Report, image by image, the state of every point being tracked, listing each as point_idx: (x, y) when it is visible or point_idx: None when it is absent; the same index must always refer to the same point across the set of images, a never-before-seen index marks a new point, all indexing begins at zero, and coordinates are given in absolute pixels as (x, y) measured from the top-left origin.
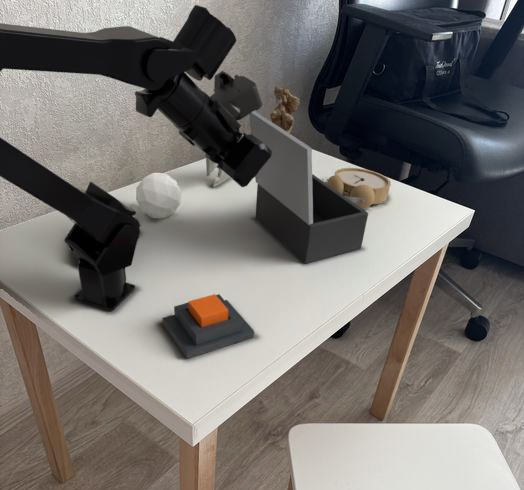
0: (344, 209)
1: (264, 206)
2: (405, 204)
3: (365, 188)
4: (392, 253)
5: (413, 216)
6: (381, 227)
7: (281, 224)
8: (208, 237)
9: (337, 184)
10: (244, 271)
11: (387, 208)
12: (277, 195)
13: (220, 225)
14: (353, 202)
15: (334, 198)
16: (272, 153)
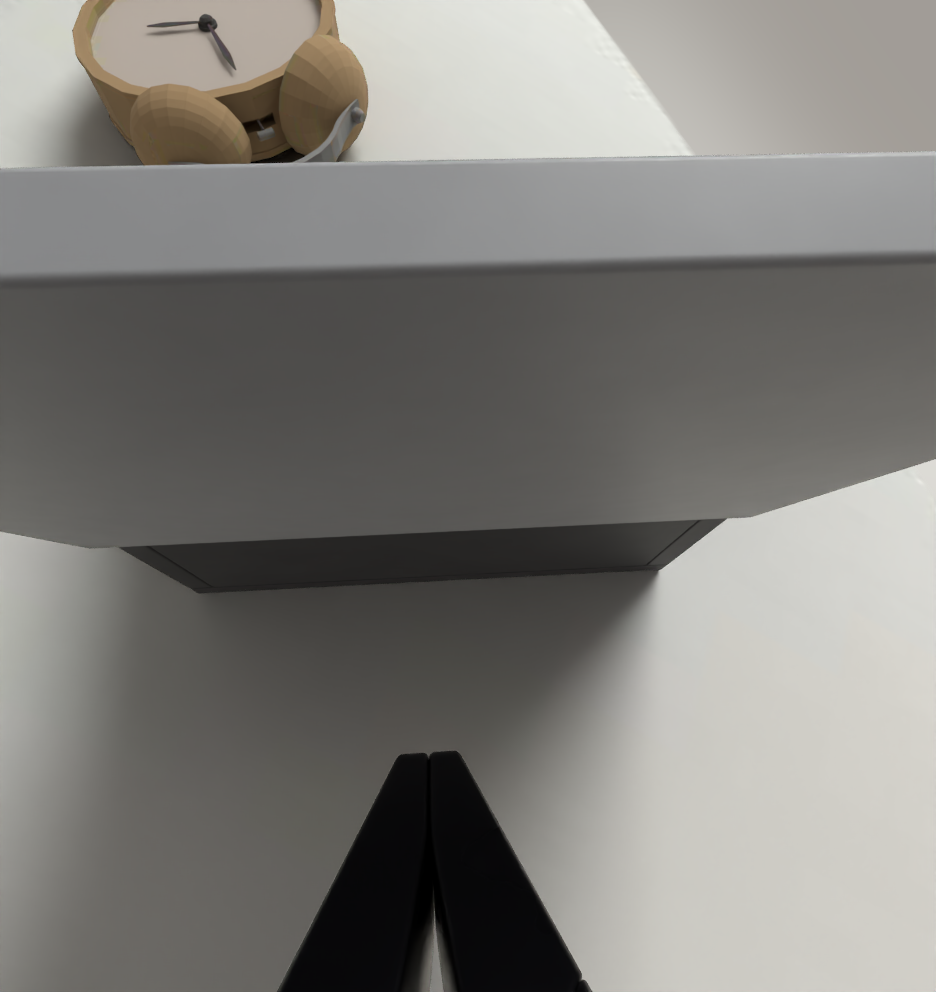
0: None
1: (248, 562)
2: (375, 7)
3: (329, 55)
4: None
5: (464, 32)
6: None
7: (440, 558)
8: (252, 946)
9: (213, 127)
10: (642, 897)
11: (374, 69)
12: (388, 530)
13: (165, 810)
14: (341, 150)
15: None
16: (293, 461)
